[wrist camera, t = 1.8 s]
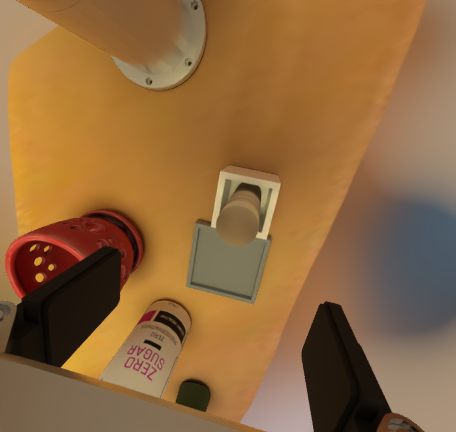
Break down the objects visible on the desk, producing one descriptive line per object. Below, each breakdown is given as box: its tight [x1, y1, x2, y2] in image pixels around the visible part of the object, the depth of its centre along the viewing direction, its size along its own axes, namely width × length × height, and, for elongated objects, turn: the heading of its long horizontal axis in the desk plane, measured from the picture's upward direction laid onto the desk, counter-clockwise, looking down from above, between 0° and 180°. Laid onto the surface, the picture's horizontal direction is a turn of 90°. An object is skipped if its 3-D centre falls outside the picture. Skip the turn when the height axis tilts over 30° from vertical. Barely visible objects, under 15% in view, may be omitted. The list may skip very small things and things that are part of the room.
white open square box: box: [211, 165, 281, 240], centre depth 29 cm, size 7×7×7 cm
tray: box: [186, 220, 271, 304], centre depth 35 cm, size 11×11×2 cm
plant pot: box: [5, 210, 143, 300], centre depth 33 cm, size 13×13×12 cm
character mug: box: [176, 382, 210, 412], centre depth 40 cm, size 11×7×13 cm, turn 161°
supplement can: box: [98, 300, 191, 399], centre depth 34 cm, size 8×8×15 cm
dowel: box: [216, 182, 261, 246], centre depth 26 cm, size 4×4×13 cm
